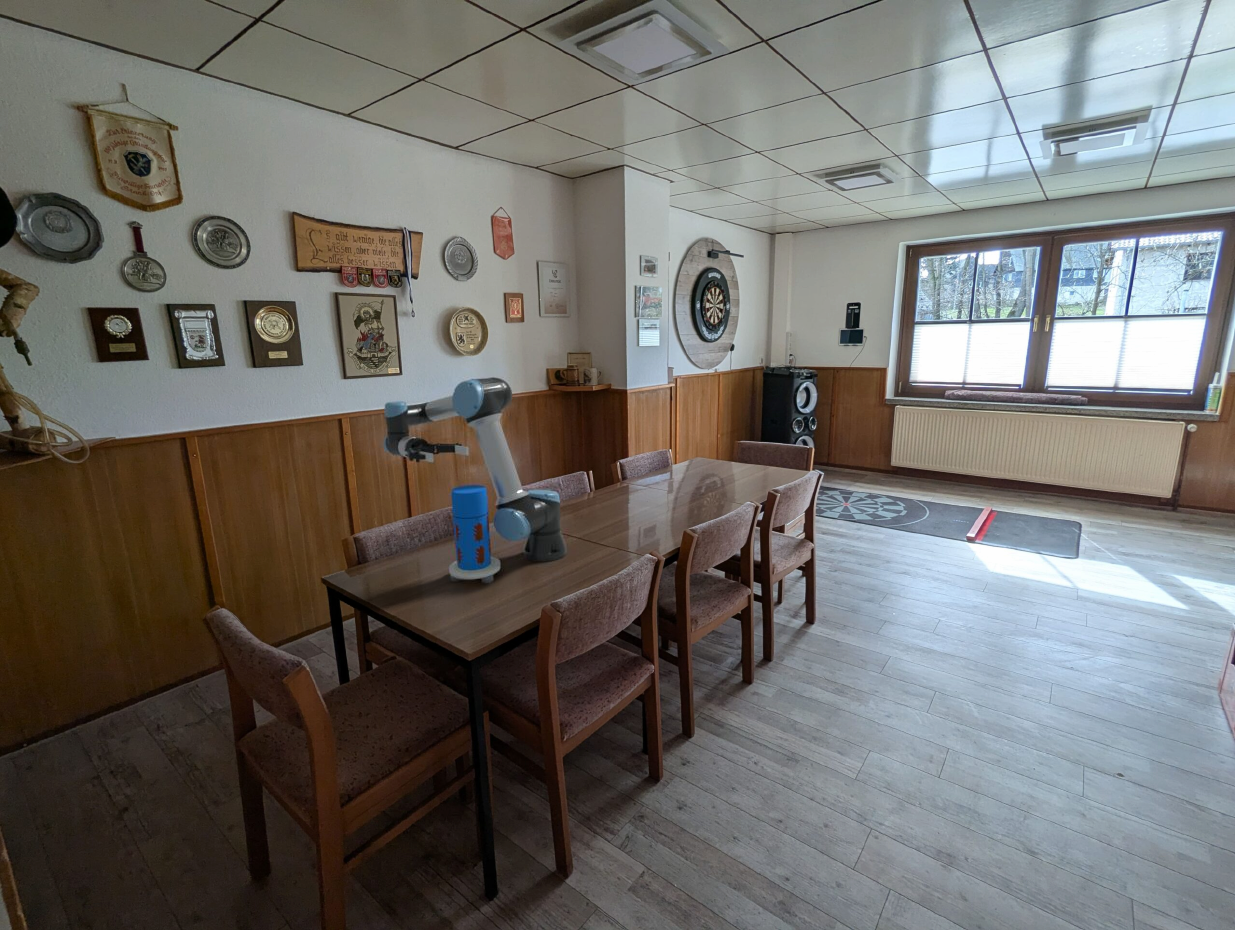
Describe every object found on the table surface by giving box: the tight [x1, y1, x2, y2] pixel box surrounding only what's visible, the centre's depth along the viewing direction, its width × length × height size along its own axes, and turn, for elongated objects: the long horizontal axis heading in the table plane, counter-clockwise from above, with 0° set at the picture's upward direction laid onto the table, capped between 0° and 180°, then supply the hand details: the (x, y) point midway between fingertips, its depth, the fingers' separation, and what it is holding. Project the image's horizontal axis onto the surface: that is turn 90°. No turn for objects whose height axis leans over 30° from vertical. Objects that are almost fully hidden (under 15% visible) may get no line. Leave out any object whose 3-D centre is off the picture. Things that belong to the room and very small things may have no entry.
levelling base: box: [448, 556, 501, 584], centre depth 184 cm, size 16×16×4 cm
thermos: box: [450, 484, 492, 571], centre depth 181 cm, size 11×11×25 cm
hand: (450, 454), depth 188 cm, fingers open, 13 cm apart
